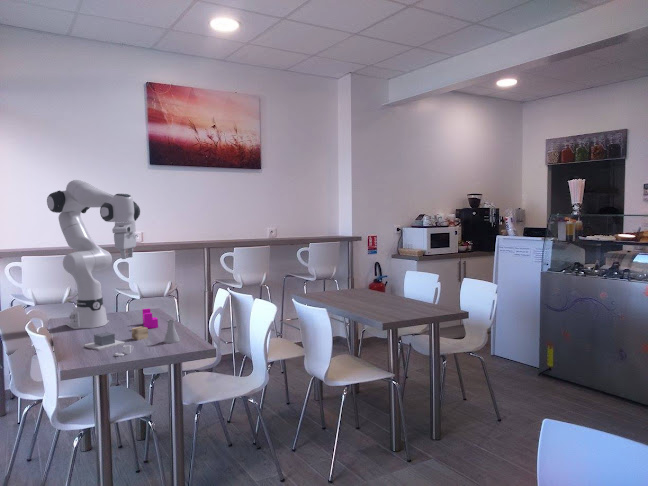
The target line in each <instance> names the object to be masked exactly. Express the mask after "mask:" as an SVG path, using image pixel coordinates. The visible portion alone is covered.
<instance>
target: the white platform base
mask: <svg viewBox="0 0 648 486" xmlns="http://www.w3.org/2000/svg"><path fill="white" fill-rule="evenodd" d="M115 336H116V335H115V333H112V332H108V331H105V332H102V333H101V332H100V333H97V334H94V335H93V339H94V342H89V343H86V344H84V345H83V346H84V348H88V349H93V350H96V351H102V350H103V351H104V350H107V349H111V348H115V347H119V346H124V345H126V342H125V341H120V340H117V339H116V338H115Z"/></svg>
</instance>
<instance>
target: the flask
mask: <svg viewBox="0 0 648 486" xmlns="http://www.w3.org/2000/svg"><path fill="white" fill-rule="evenodd" d="M166 321H167V329H166V333H165V337H164V340H163V343H164V344H175V343H179V342H180V340H181V339H180V338H179V335H178V332H177V330H176V328H175V321H176V320H175V319H167V320H166Z"/></svg>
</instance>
